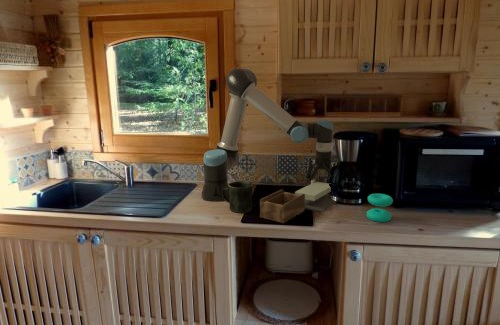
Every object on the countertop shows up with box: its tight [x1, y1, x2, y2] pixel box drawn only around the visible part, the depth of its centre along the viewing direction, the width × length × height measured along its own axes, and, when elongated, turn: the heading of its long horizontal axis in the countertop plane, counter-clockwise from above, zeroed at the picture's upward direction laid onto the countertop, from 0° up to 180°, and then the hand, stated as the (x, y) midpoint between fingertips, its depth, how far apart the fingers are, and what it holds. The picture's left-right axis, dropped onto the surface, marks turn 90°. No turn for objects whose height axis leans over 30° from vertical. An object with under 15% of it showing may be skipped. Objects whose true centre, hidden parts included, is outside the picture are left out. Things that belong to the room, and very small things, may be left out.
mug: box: [222, 180, 254, 214], centre depth 161 cm, size 11×15×12 cm
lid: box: [294, 181, 331, 201], centre depth 172 cm, size 10×22×2 cm, turn 144°
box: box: [259, 189, 306, 224], centre depth 156 cm, size 12×18×8 cm, turn 144°
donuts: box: [366, 193, 394, 223], centre depth 150 cm, size 10×10×10 cm
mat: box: [305, 193, 337, 213], centre depth 173 cm, size 18×26×1 cm
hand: (322, 193), depth 179 cm, fingers closed on lid, 10 cm apart
